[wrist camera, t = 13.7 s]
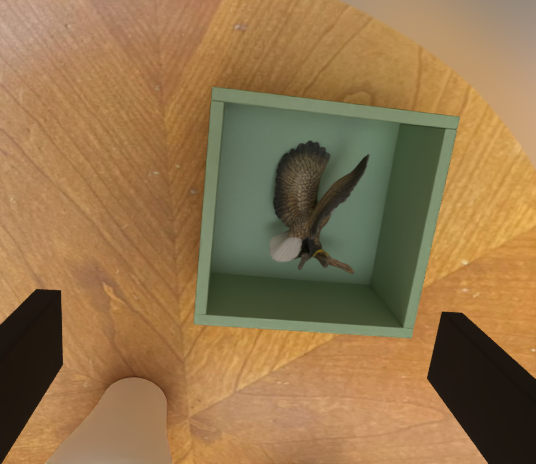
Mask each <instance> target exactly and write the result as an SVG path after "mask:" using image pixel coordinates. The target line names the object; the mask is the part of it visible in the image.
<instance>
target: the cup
mask: <svg viewBox="0 0 536 464" xmlns="http://www.w3.org/2000/svg"><path fill="white" fill-rule="evenodd" d="M166 420H167V400H166V397H165V395H164V393H163V392H162V390H161V389H160V388H159V387H158V386H157V385H156V384H154V383H153V382H151V381H148V380H146V379H143V378H137V377H132V378H125V379H121V380H118V381H116V382H115V383H113V384H111V385H110V386H109V387H108V388H107V389H106V391H105V392H104V394H103V395H102V397H101V399H100V400H99V402H98V404H97V405H96V407H95V408H94V409H93V410H92V411H91V413H90V414H89V415H88V416H87V417H86V418H85V420H84V421H83V422H82V423H81V424H80V425H79V426H78V427H77V428H76V429H75V430H74V431H73V432H72V433H71V434H70V435H69V436H68V437H67V438H66V439H65V440H64V441H63V442H62V443H61V444H60V446H59V447H58V448H57V449H56V451H55V452H54V453H53V454H52V455H51V457H50V458H49V459H48V460H47V461H46V463H45V464H172V457H171V452H170V447H169V443H168V437H167V428H166Z"/></svg>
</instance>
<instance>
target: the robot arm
mask: <svg viewBox="0 0 536 464" xmlns="http://www.w3.org/2000/svg"><path fill="white" fill-rule="evenodd" d="M62 365H63V348H62V309H61V290H44V289H36V290H35V291H34V292H33V293H32V294H31V295H30V296H29V297H28V298H27V299H26V300H25V301H24V302H23V303H22V304H21V305H20V306H19V307H18V308H17V309H16V310H15V311H14V312H13V313H12V314H11V315H10V316H9V317H8V318H7V319H6V320H5V321H4V322H3V323H2V324H1V325H0V464H1V463H2V462H3V460H4V459H5V457H6V455H7V454H8V452H9V451H10V449H11V447H12V446H13V444H14V443H15V441H16V439H17V438H18V436H19V435H20V433H21V431H22V430H23V428H24V426H25V425H26V423H27V422H28V420H29V418H30V417H31V415H32V414H33V412H34V410H35V409H36V407H37V406H38V404H39V402H40V401H41V399H42V397H43V396H44V394H45V393H46V391H47V389H48V388H49V386H50V385H51V383H52V381H53V380H54V378H55V377H56V375H57V373H58V372H59V370H60V368H61V367H62ZM427 379H428V381H429V382H430V383H431V385H432V386H433V387H434V389H435V390H436V392H437V393H438V394H439V396H440V397H441V399H442V400H443V401H444V403H445V404H446V406H447V407H448V408H449V410H450V411H451V412H452V414H453V415H454V417H455V418H456V419H457V421H458V422H459V424H460V425H461V426H462V428H463V429H464V431H465V432H466V433H467V435H468V436H469V437H470V439H471V440H472V442H473V443H474V444H475V446H476V447H477V449H478V450H479V451H480V453H481V454H482V456H483V457H484V458H485V460H486V461H487V462H488V464H536V379H535V378H534V377H533V376H532V375H531V374H529V373H528V372H527V371H526V370H525V369H524V368H523V367H522V366H521V365H519V364H518V363H517V362H516V361H515V360H514V359H513V358H512V357H511V356H509V355H508V354H507V353H506V352H505V351H504V350H503V349H502V348H501V347H500V346H498V345H497V344H496V343H495V342H494V341H493V340H492V339H491V338H490V337H488V336H487V335H486V334H485V333H484V332H483V331H482V330H481V329H480V328H478V327H477V326H476V325H475V324H474V323H473V322H472V321H471V320H470V319H468V318H467V317H466V316H465V315H464V314H463V313H457V312H442V314H441V318H440V323H439V327H438V332H437V336H436V341H435V345H434V349H433V354H432V358H431V363H430V367H429V372H428V376H427Z"/></svg>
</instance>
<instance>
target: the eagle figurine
mask: <svg viewBox="0 0 536 464" xmlns="http://www.w3.org/2000/svg"><path fill="white" fill-rule="evenodd" d="M330 156H331V155H330V154H329V153H327V152H326V148H325V147H320V144H319V142H314V143H313V141H311V140H310V141H308V142H307V143H306V144H304V143H300V144H299V145H298V146H297V148H296V150H295V149H294V148H292V149H291V150H290V152H289V153H286V154H284V156H283V158H282V159H281V162H280V163H279V164H278V168H277V170H276V173H277V176H276V180H275V182H276V186H275V197H274V201H273V204H274V209H275V214H276V215H277V217H278V219H281V220H282V222H283V223H286V226H287V227H289V230H288V231H285V232H283V233H281V234H278V235H275V236H273V237H272V238H271V239H270V242H269V247H270V249H269V254H270V255H271V257H272V259H273V260H275V261H277V262H287V261H291V260H293V259H297V258H301V260H300V262H299V265H298V269H299V270H301V269H302V267H303V265H304V264H305V262H306V261H307V260H309V259H311V257H314V258H316V259H317V260H318V261H319V262H320V264H321V265H322V266H323V267H324V268H327V267H328V265H331V266H334V267H337V268H340V269H343V270H344V271H346V272H348V273H351V274H354V270H353V269H352V268H351V267H350V266H349V265H348V264H345V263H342V262H340V261H338V260H336V259H333V258H331V257H330V255H329V254H328V253H327V252H326V251H324V250H323V249H322V244H321V243H320V241H319V236H320V232H321V229H322V228H323V227H324V226H325V225H326V224H327V223H328V221H329V218H330V217H331V215H332V214H333V212H334V211H335V208H337V207H338V205H339V204H340V203H343V202H345V201H346V200H347V198H348V197H349V196H350V195H351V192H352V191H353V190H354V187H355V186H356V185H357V184H358V182H359V180H360V179H361V177H362V176H363V174H364V173H365V170H366V168H367V166H368V165H367V163H368V161H369V154H368V155H367V156H365V157H364V158H363V159H362V160H361V161H360V162H359V164H358V165H357V166H356V167H355V169H354V170H353V171H351V172H350V173H349V174H347V175H345V176H343V177H342V178H340V179H338V180H337V181H336V182H334V183H333V184H332V185H331V187H330V188H329V189H328V190H327V192H326V193H325V194H324V195H323V197H322V198H321V200H320V201H319V203H318V201H317V192H318V188H319V184H320V180H321V176H322V174H323V172H324V170H325V168H326V166H327V164H328V162H329V159H330ZM301 249H302V250H301ZM300 250H301V251H300Z"/></svg>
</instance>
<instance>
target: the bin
mask: <svg viewBox="0 0 536 464" xmlns="http://www.w3.org/2000/svg"><path fill="white" fill-rule="evenodd" d="M211 100H212V101H211V106H210V119H209V132H208V145H207V158H206V170H205V183H204V196H203V209H202V222H201V235H200V248H199V261H198V273H197V286H196V299H195V312H194V324H196V325H212V326H227V327H243V328H258V329H274V330H289V331H305V332H320V333H335V334H351V335H366V336H382V337H397V338H412V334H413V328H414V324H415V319H416V315H417V310H418V306H419V301H420V296H421V292H422V287H423V283H424V278H425V274H426V269H427V265H428V260H429V255H430V251H431V246H432V242H433V237H434V233H435V228H436V224H437V219H438V214H439V210H440V205H441V201H442V196H443V192H444V187H445V183H446V178H447V174H448V169H449V164H450V160H451V155H452V151H453V146H454V142H455V137H456V133H457V130H456V129H457V128H458V124H459V119H460V117H458V116H450V115H442V114H434V113H426V112H417V111H409V110H401V109H393V108H385V107H377V106H368V105H360V104H352V103H344V102H336V101H328V100H319V99H311V98H303V97H295V96H287V95H279V94H270V93H262V92H254V91H246V90H238V89H230V88H221V87H212V93H211ZM310 140H311V141H313V143H314V142H319V144H320V147H325V148H326V152H327V153H329V154H330V155H331V156H330V159H329V162H328V164H327V166H326V168H325V170H324V172H323V174H322V176H321V180H320V184H319V188H318V192H317V201H318V203H319V201H320V200H321V198H322V197H323V195H324V194H325V193H326V192H327V190H328V189H329V188H330V187H331V185H332V184H333V183H334V182H336V181H337V180H338V179H340V178H342V177H343V176H345V175H347V174H349V173H350V172H351V171H353V170H354V169H355V167H356V166H357V165H358V164H359V162H360V161H361V160H362V159H363V158H364V157H365V156H367V155H368V154H369V161H368V163H367V165H368V166H367V168H366V170H365V173H364V174H363V176H362V177H361V179H360V180H359V182H358V184H357V185H356V186H355V187H354V190H353V191H352V192H351V195H350V196H349V197H348V198H347V200H346V201H345V202H343V203H340V204H339V205H338V207H337V208H335V211H334V212H333V214H332V215H331V217H330V218H329V221H328V223H327V224H326V225H325V226H324V227H323V228H322V229H321V232H320V236H319V241H320V243H321V244H322V249H323V250H324V251H326V252H327V253H328V254H329V255H330V257H331V258H333V259H336V260H338V261H340V262H342V263H345V264H348V265H349V266H350V267H351V268H352V269H353V270H354V274H351V273H348V272H346V271H344V270H343V269H340V268H337V267H334V266H331V265H328V267H327V268H324V267H323V266H322V265H321V264H320V262H319V261H318V260H317V259H316V258H314V257H311V259H309V260H307V261H306V262H305V264H304V265H303V267H302V269H301V270H299V269H298V265H299V262H300V260H301V258H297V259H293V260H291V261H287V262H277V261H275V260H273V259H272V257H271V255H270V254H269V249H270V247H269V242H270V239H271V238H272V237H273V236H275V235H278V234H281V233H283V232H285V231H288V230H289V227H287V226H286V223H283V222H282V220H281V219H278V217H277V215H276V214H275V209H274V204H273V201H274V197H275V186H276V182H275V180H276V176H277V173H276V170H277V168H278V164H279V163H280V162H281V159H282V158H283V156H284V154H286V153H289V152H290V150H291V149H292V148H294V149H295V150H296V148H297V146H298V145H299V144H300V143H304V144H306V143H307V142H308V141H310ZM301 250H302V249H301ZM301 250H300V251H301Z"/></svg>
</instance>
